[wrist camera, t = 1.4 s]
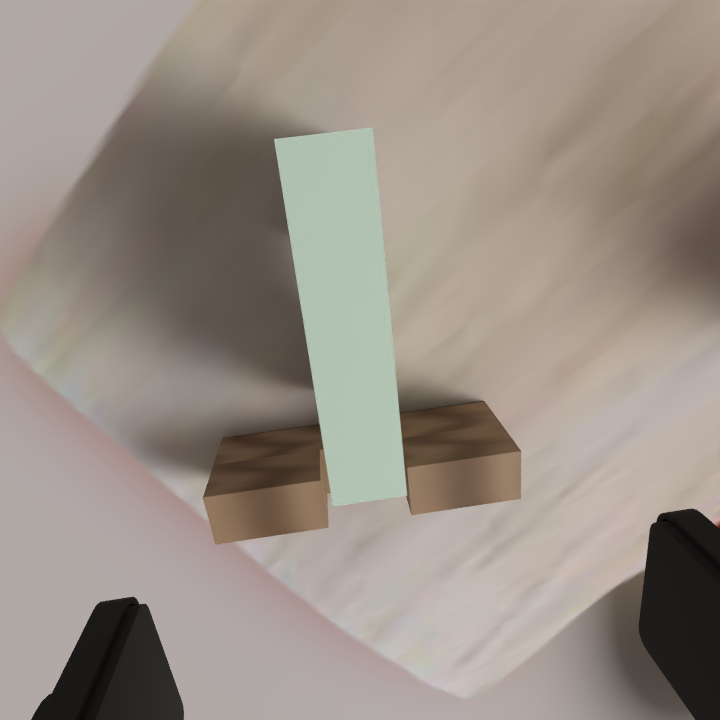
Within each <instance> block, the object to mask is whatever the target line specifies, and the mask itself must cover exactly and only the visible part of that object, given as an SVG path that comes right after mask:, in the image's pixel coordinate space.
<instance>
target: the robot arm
mask: <svg viewBox="0 0 720 720" xmlns="http://www.w3.org/2000/svg"><path fill="white" fill-rule="evenodd" d="M639 633H640V637H641V640H642V642H643V644H644V646H645V648H646V649H647V651H648V653H649V654H650V655H651V657H652V658H653V660H654V661H655V662H656V664H657V665H658V667H659V668H660V670H661V671H662V673H663V674H664V675H665V677H666V678H667V680H668V681H669V682H670V684H671V685H672V687H673V688H674V690H675V691H676V693H677V694H678V696H679V697H680V698H681V700H682V701H683V703H684V704H685V706H686V707H687V708H688V710H689V711H690V712H691V714H692V715H693V717H694V718H695V720H720V529H719V528H718V527H717V526H716V525H714V524H713V523H712V522H711V521H710V520H709V519H708V518H706V517H705V516H704V515H703V514H702V513H700V512H699V511H697V510H695V509H686V510H680V511H673V512H667V513H662V514H660V515H659V516H658V518H657V522H656V523H653V524H652V525H651V528H650V534H649V543H648V551H647V560H646V568H645V577H644V585H643V594H642V604H641V611H640V620H639ZM31 720H184V710H183V704H182V700H181V697H180V695H179V692H178V689H177V686H176V684H175V681H174V678H173V675H172V672H171V670H170V667H169V664H168V661H167V658H166V655H165V653H164V650H163V647H162V644H161V641H160V638H159V636H158V633H157V630H156V627H155V624H154V622H153V619H152V616H151V613H150V610H149V608H148V606H147V605H146V604H140V605H139V603H138V601H137V599H136V598H135V597H128V598H122V599H116V600H110V601H103V602H100V603H98V604H97V605H96V607H95V609H94V610H93V612H92V614H91V616H90V618H89V620H88V622H87V624H86V626H85V628H84V630H83V632H82V634H81V636H80V638H79V640H78V642H77V644H76V646H75V648H74V650H73V652H72V654H71V656H70V658H69V660H68V662H67V664H66V666H65V668H64V670H63V673H62V674H61V677H60V679H59V680H58V683H57V684H56V686H55V688H54V690H53V693H52V694H49V695H48V696H47V697H46V698H45V699H44V700H43V701H42V702H41V704H40V705H39V707H38V709H37V710H36V712H35V714H34V716H33V717H32V719H31Z"/></svg>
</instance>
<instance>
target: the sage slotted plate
mask: <svg viewBox="0 0 720 720" xmlns="http://www.w3.org/2000/svg"><path fill="white" fill-rule="evenodd" d="M274 142H275V148H276V155H277V161H278V167H279V173H280V180H281V186H282V192H283V198H284V204H285V211H286V217H287V223H288V229H289V236H290V242H291V248H292V254H293V261H294V267H295V273H296V279H297V286H298V292H299V298H300V304H301V311H302V317H303V323H304V329H305V335H306V342H307V348H308V354H309V360H310V367H311V373H312V379H313V385H314V392H315V398H316V404H317V410H318V417H319V423H320V429H321V435H322V442H323V448H324V454H325V460H326V466H327V473H328V479H329V485H330V491H331V498H332V504H333V506H340V505H347V504H354V503H360V502H367V501H374V500H381V499H387V498H394V497H401V496H407V489H406V478H405V467H404V457H403V446H402V435H401V424H400V414H399V403H398V392H397V382H396V371H395V360H394V350H393V339H392V328H391V318H390V307H389V296H388V286H387V275H386V264H385V254H384V243H383V232H382V222H381V211H380V200H379V190H378V179H377V168H376V157H375V147H374V136H373V128H364V129H356V130H347V131H339V132H330V133H322V134H313V135H305V136H296V137H288V138H279V139H274Z"/></svg>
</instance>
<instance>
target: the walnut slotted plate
mask: <svg viewBox="0 0 720 720" xmlns="http://www.w3.org/2000/svg"><path fill="white" fill-rule="evenodd" d="M399 414H400V424H401V435H402V446H403V457H404V467H405V478H406V489H407V496H406V497H407V501H408V504H409V508H410V511H411V515H415V514H422V513H429V512H435V511H442V510H449V509H455V508H462V507H469V506H475V505H482V504H489V503H495V502H502V501H509V500H515V499H521V450H520V449H519V448H518V446H517V445H516V444H515V442H514V441H513V439H512V438H511V437H510V435H509V434H508V433H507V431H506V430H505V429H504V427H503V426H502V424H501V423H500V422H499V420H498V419H497V418H496V416H495V415H494V414H493V412H492V411H491V410H490V408H489V407H488V405H487V404H486V403H485V401H483V402H476V403H468V404H461V405H454V406H447V407H440V408H433V409H426V410H419V411H412V412H405V413H399ZM327 493H331V491H330V485H329V479H328V473H327V466H326V460H325V454H324V448H323V442H322V435H321V429H320V425H313V426H306V427H299V428H292V429H285V430H278V431H271V432H263V433H256V434H249V435H242V436H235V437H228V438H223V439H222V442H221V445H220V448H219V451H218V454H217V457H216V460H215V463H214V466H213V469H212V472H211V475H210V478H209V481H208V484H207V487H206V490H205V493H204V496H203V500H204V503H205V507H206V511H207V514H208V518H209V522H210V525H211V529H212V533H213V536H214V540H215V544H222V543H228V542H235V541H242V540H248V539H255V538H262V537H268V536H275V535H282V534H288V533H295V532H302V531H308V530H315V529H322V528H328V507H327Z"/></svg>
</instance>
